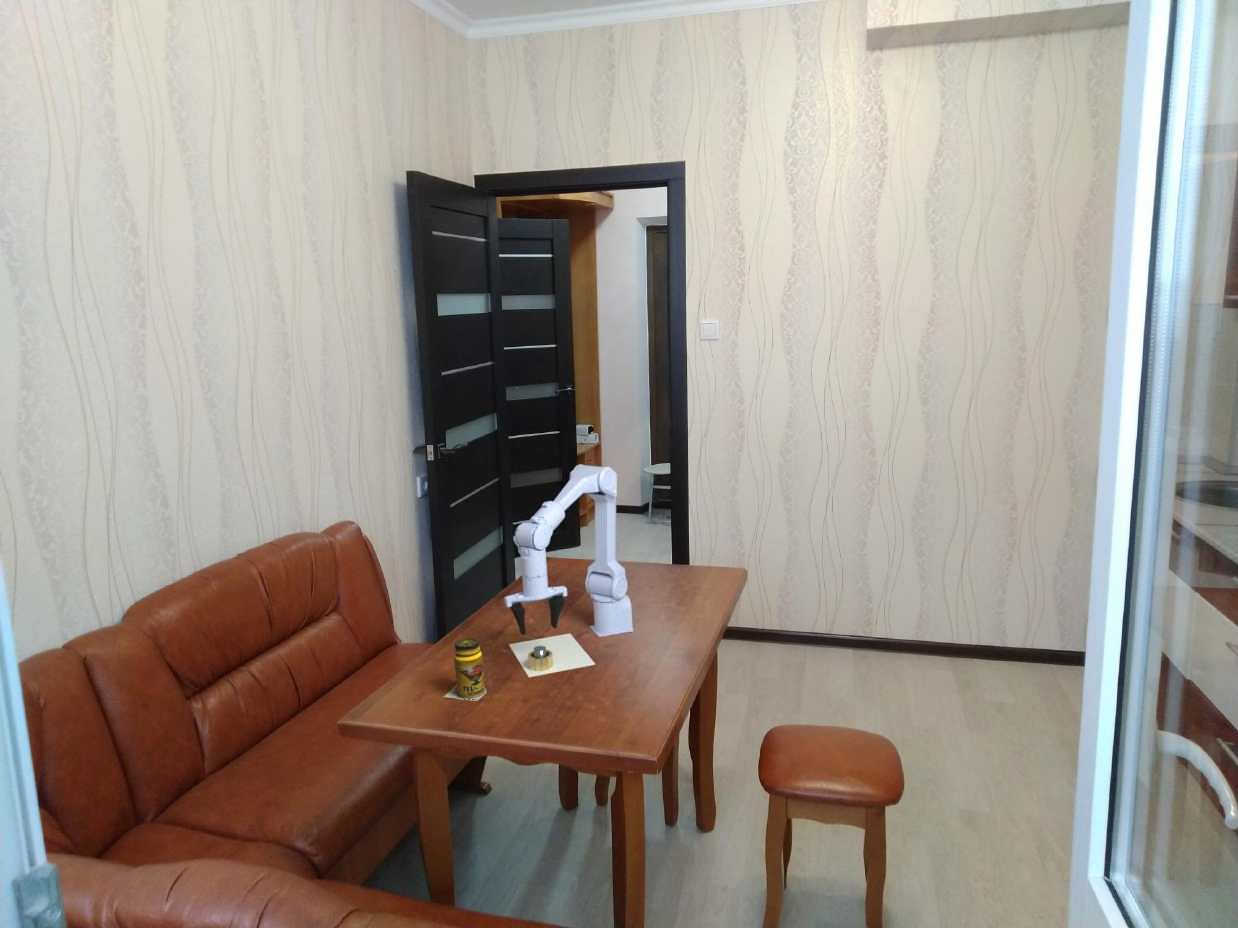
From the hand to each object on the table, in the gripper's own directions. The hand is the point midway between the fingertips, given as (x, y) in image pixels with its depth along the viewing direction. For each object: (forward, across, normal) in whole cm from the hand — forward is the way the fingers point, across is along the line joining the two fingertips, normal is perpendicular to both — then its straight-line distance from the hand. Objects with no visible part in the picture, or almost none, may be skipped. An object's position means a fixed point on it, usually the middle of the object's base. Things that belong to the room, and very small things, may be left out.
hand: (538, 630), depth 197 cm
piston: (+9, 0, 0) cm, 9 cm away
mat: (+9, -4, -6) cm, 12 cm away
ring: (+9, 0, 0) cm, 9 cm away
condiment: (+10, +18, +4) cm, 21 cm away
